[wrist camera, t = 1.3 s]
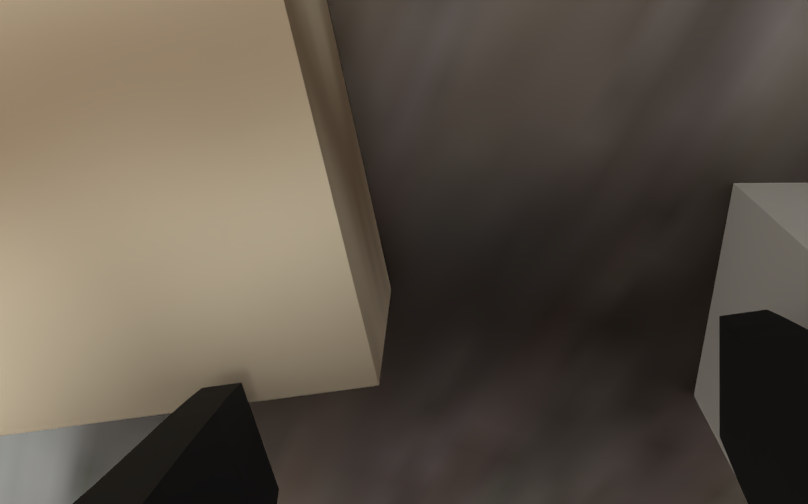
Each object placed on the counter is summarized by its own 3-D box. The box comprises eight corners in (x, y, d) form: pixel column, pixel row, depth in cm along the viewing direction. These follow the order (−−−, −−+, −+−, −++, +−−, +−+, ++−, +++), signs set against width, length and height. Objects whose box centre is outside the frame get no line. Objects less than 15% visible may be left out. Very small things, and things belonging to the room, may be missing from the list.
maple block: (391, 289, 13) (378, 385, 10) (-48, 354, 14) (-165, 457, 11) (259, -301, 9) (184, -398, 7) (-321, -151, 10) (-593, -181, 8)
